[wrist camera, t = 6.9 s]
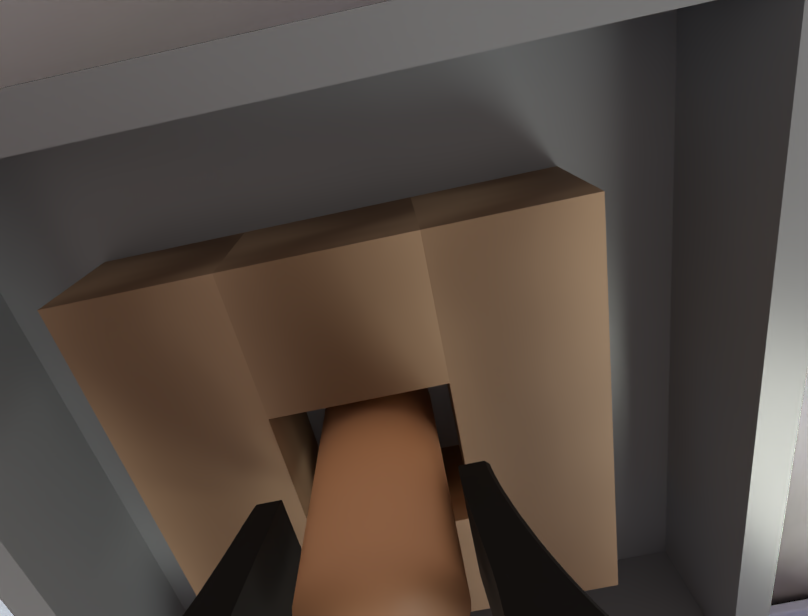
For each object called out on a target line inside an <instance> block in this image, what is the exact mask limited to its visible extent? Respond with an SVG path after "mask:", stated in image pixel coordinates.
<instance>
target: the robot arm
mask: <svg viewBox="0 0 808 616" xmlns="http://www.w3.org/2000/svg"><path fill="white" fill-rule="evenodd" d="M458 469H459V474H460V479H461V484H462V489H463V494H464V499H465V504H466V509H467V514H468V519H469V524H470V528H471V533H472V538H473V543H474V548H475V552H476V557H477V562H478V567H479V572H480V576H481V579H482V583H483V586H484V589H485V593H486V596H487V599H488V603H489V606H490V609H491V612H492V616H609V615H608V614H607V613H606V612H605V611H604V610H603V609H602V608H600V607H599V606H598V605H597V604H596V603H595V602H594V601H593V599H592V598H591V597H590V596H589V595H588V594H587V593H586V592H585V591H584V590H583V589H582V588H581V587H580V586H579V585H578V584H577V583H576V582H575V581H574V580H573V579H572V577H571V576H570V575H569V574H568V573H567V572H566V571H565V570H564V569H563V567H562V566H561V565H560V564H559V563H558V562H557V560H556V559H555V558H554V557H553V556H552V555H551V553H550V552H549V551H548V550H547V549H546V547H545V546H544V545H543V544H542V542H541V541H540V540H539V539H538V537H537V536H536V535H535V534H534V532H533V531H532V530H531V528H530V527H529V526H528V524H527V523H526V522H525V520H524V519H523V518H522V516H521V515H520V514H519V512H518V511H517V509H516V508H515V506H514V505H513V504H512V502H511V500H510V499H509V497H508V496H507V494H506V493H505V491H504V490H503V488H502V486H501V485H500V483H499V481H498V479H497V478H496V476H495V474H494V472H493V470H492V468H491V465H490V464H489V463H488V462H486V461H480V462H475V463H470V464H465V465H459V466H458ZM301 551H302V549H301V546H300V544H299V541H298V539H297V536H296V534H295V531H294V529H293V526H292V524H291V521H290V519H289V516H288V514H287V511H286V509H285V506H284V504H283V501H282V500H278V501H273V502H268V503H263V504H257V505H256V506H255V507H254V509H253V510H252V512H251V513H250V515H249V516H248V518H247V519H246V521H245V522H244V524H243V526H242V527H241V529H240V530H239V532H238V534H237V535H236V537H235V538H234V540H233V541H232V543H231V545H230V546H229V548H228V549H227V551H226V552H225V554H224V556H223V557H222V559H221V560H220V562H219V563H218V565H217V566H216V568H215V569H214V571H213V572H212V574H211V575H210V577H209V578H208V580H207V581H206V583H205V584H204V586H203V587H202V589H201V590H200V592H199V593H198V595H197V596H196V598H195V599H194V601H193V602H192V603H191V605H190V606H189V607H188V609H187V610H186V612H185V613H184V614H183V616H292V605H293V599H294V593H295V587H296V581H297V575H298V569H299V563H300V557H301ZM769 616H808V599H804V600H799V601H793V602H787V603H782V604H776V605H771V608H770V615H769Z"/></svg>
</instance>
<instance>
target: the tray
mask: <svg viewBox="0 0 808 616" xmlns="http://www.w3.org/2000/svg"><path fill="white" fill-rule="evenodd" d="M555 166H558V167H560V168H561V169H563V170H565V171H567V172H569V173H571V174H573V175H575V176H577V177H579V178H580V179H582V180H584V181H586V182H588V183H590V184H592V185H594V186H596V187H598V188H599V189H601V190H603V191H605V219H606V248H607V277H608V305H609V334H610V363H611V391H612V420H613V449H614V477H615V506H616V535H617V563H618V585H615V586H609V587H604V588H598V589H593V590H587V591H585V592H586V593H587V594H588V595H589V596H590V597H591V598H592V599H593V601H594V602H595V603H596V604H597V605H598V606H599V607H600V608H602V609H603V610H604V611H605V612H606V613H607V614H608V615H609V616H769V615H770V608H771V602H772V595H773V589H774V582H775V576H776V570H777V563H778V557H779V550H780V544H781V537H782V531H783V525H784V518H785V512H786V505H787V499H788V492H789V486H790V480H791V473H792V467H793V460H794V454H795V447H796V441H797V435H798V428H799V422H800V415H801V409H802V402H803V396H804V390H805V383H806V377H807V370H808V0H389V1H385V2H381V3H376V4H372V5H367V6H363V7H358V8H354V9H350V10H345V11H341V12H336V13H332V14H327V15H323V16H319V17H314V18H310V19H305V20H301V21H297V22H292V23H288V24H283V25H279V26H274V27H270V28H266V29H261V30H257V31H252V32H248V33H243V34H239V35H235V36H230V37H226V38H221V39H217V40H213V41H208V42H204V43H199V44H195V45H190V46H186V47H182V48H177V49H173V50H168V51H164V52H160V53H155V54H151V55H146V56H142V57H137V58H133V59H129V60H124V61H120V62H115V63H111V64H106V65H102V66H98V67H93V68H89V69H84V70H80V71H76V72H71V73H67V74H62V75H58V76H53V77H49V78H45V79H40V80H36V81H31V82H27V83H22V84H18V85H14V86H9V87H5V88H0V599H1V600H2V601H3V603H4V604H5V605H6V606H7V608H8V609H9V610H10V611H11V613H12V614H13V615H14V616H183V614H184V613H185V612H186V610H187V609H188V607H189V606H190V605H191V603H192V602H193V601H194V599H195V598H196V594H195V592H194V590H193V588H192V587H191V585H190V583H189V581H188V580H187V578H186V576H185V574H184V572H183V571H182V569H181V567H180V565H179V563H178V562H177V560H176V558H175V556H174V554H173V553H172V551H171V549H170V547H169V545H168V544H167V542H166V540H165V538H164V536H163V535H162V533H161V531H160V529H159V528H158V526H157V524H156V522H155V520H154V519H153V517H152V515H151V513H150V511H149V510H148V508H147V506H146V504H145V502H144V501H143V499H142V497H141V495H140V493H139V492H138V490H137V488H136V486H135V484H134V483H133V481H132V479H131V477H130V476H129V474H128V472H127V470H126V468H125V467H124V465H123V463H122V461H121V459H120V458H119V456H118V454H117V452H116V450H115V449H114V447H113V445H112V443H111V441H110V440H109V438H108V436H107V434H106V432H105V431H104V429H103V427H102V425H101V424H100V422H99V420H98V418H97V416H96V415H95V413H94V411H93V409H92V407H91V406H90V404H89V402H88V400H87V398H86V397H85V395H84V393H83V391H82V389H81V388H80V386H79V384H78V382H77V380H76V379H75V377H74V375H73V373H72V372H71V370H70V368H69V366H68V364H67V363H66V361H65V359H64V357H63V355H62V354H61V352H60V350H59V348H58V346H57V345H56V343H55V341H54V339H53V337H52V336H51V334H50V332H49V330H48V328H47V327H46V325H45V323H44V321H43V320H42V318H41V316H40V314H39V312H38V311H37V310H38V309H40V308H41V307H43V306H44V305H45V304H47V303H48V302H50V301H51V300H52V299H54V298H55V297H57V296H58V295H59V294H61V293H62V292H64V291H65V290H66V289H68V288H69V287H71V286H72V285H73V284H75V283H76V282H78V281H79V280H80V279H82V278H83V277H85V276H86V275H87V274H89V273H90V272H92V271H93V270H94V269H96V268H97V267H99V266H100V265H101V264H103V263H104V262H108V261H112V260H117V259H122V258H126V257H131V256H136V255H141V254H145V253H150V252H155V251H159V250H164V249H169V248H174V247H178V246H183V245H188V244H192V243H197V242H202V241H206V240H211V239H216V238H221V237H225V236H230V235H235V234H239V233H244V232H249V231H254V230H258V229H263V228H268V227H272V226H277V225H282V224H287V223H291V222H296V221H301V220H305V219H310V218H315V217H320V216H324V215H329V214H334V213H338V212H343V211H348V210H352V209H357V208H362V207H367V206H371V205H376V204H381V203H385V202H390V201H395V200H400V199H404V198H409V197H414V196H418V195H423V194H428V193H433V192H437V191H442V190H447V189H451V188H456V187H461V186H466V185H470V184H475V183H480V182H484V181H489V180H494V179H498V178H503V177H508V176H513V175H517V174H522V173H527V172H531V171H536V170H541V169H546V168H550V167H555ZM428 391H429V394H430V398H431V403H432V408H433V413H434V418H435V423H436V428H437V433H438V438H439V443H440V448H445V447H450V446H455V445H459V442H458V437H457V432H456V427H455V421H454V416H453V411H452V406H451V401H450V396H449V391H448V386H447V384H444V385H439V386H434V387H429V388H428ZM325 409H326V408H323V409H318V410H313V411H308V412H307V415H308V418H309V421H310V424H311V427H312V430H313V432H314V435H315V438H316V441H317V444H318V447H319V445H320V439H321V433H322V427H323V421H324V415H325ZM470 616H492V612H491V609H490V608H489V609H483V610H478V611H473V612H471V613H470Z"/></svg>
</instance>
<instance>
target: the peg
mask: <svg viewBox="0 0 808 616" xmlns="http://www.w3.org/2000/svg"><path fill="white" fill-rule="evenodd" d="M470 613H471V597H470V592H469V587H468V582H467V577H466V572H465V567H464V562H463V557H462V552H461V547H460V542H459V537H458V532H457V527H456V522H455V517H454V512H453V507H452V502H451V497H450V492H449V487H448V482H447V477H446V473H445V468H444V463H443V458H442V453H441V448H440V443H439V438H438V433H437V428H436V423H435V418H434V413H433V408H432V403H431V398H430V394H429V391H428V388H424V389H419V390H414V391H409V392H404V393H399V394H393V395H388V396H383V397H378V398H373V399H368V400H363V401H358V402H353V403H348V404H343V405H338V406H333V407H328V408H326V409H325V415H324V421H323V427H322V433H321V439H320V445H319V451H318V457H317V462H316V468H315V474H314V480H313V486H312V492H311V498H310V504H309V510H308V516H307V522H306V528H305V534H304V540H303V546H302V551H301V557H300V563H299V569H298V575H297V581H296V587H295V593H294V599H293V605H292V616H470Z"/></svg>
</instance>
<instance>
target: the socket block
mask: <svg viewBox="0 0 808 616" xmlns="http://www.w3.org/2000/svg"><path fill="white" fill-rule="evenodd" d="M37 311H38V312H39V314H40V316H41V318H42V320H43V321H44V323H45V325H46V327H47V328H48V330H49V332H50V334H51V336H52V337H53V339H54V341H55V343H56V345H57V346H58V348H59V350H60V352H61V354H62V355H63V357H64V359H65V361H66V363H67V364H68V366H69V368H70V370H71V372H72V373H73V375H74V377H75V379H76V380H77V382H78V384H79V386H80V388H81V389H82V391H83V393H84V395H85V397H86V398H87V400H88V402H89V404H90V406H91V407H92V409H93V411H94V413H95V415H96V416H97V418H98V420H99V422H100V424H101V425H102V427H103V429H104V431H105V432H106V434H107V436H108V438H109V440H110V441H111V443H112V445H113V447H114V449H115V450H116V452H117V454H118V456H119V458H120V459H121V461H122V463H123V465H124V467H125V468H126V470H127V472H128V474H129V476H130V477H131V479H132V481H133V483H134V484H135V486H136V488H137V490H138V492H139V493H140V495H141V497H142V499H143V501H144V502H145V504H146V506H147V508H148V510H149V511H150V513H151V515H152V517H153V519H154V520H155V522H156V524H157V526H158V528H159V529H160V531H161V533H162V535H163V536H164V538H165V540H166V542H167V544H168V545H169V547H170V549H171V551H172V553H173V554H174V556H175V558H176V560H177V562H178V563H179V565H180V567H181V569H182V571H183V572H184V574H185V576H186V578H187V580H188V581H189V583H190V585H191V587H192V588H193V590H194V592H195V594H196V596H197V595H198V593H199V592H200V590H201V589H202V587H203V586H204V584H205V583H206V581H207V580H208V578H209V577H210V575H211V574H212V572H213V571H214V569H215V568H216V566H217V565H218V563H219V562H220V560H221V559H222V557H223V556H224V554H225V552H226V551H227V549H228V548H229V546H230V545H231V543H232V541H233V540H234V538H235V537H236V535H237V534H238V532H239V530H240V529H241V527H242V526H243V524H244V522H245V521H246V519H247V518H248V516H249V515H250V513H251V512H252V510H253V509H254V507H255V506H256V505H257V504H263V503H268V502H273V501H278V500H282V501H283V504H284V506H285V509H286V511H287V514H288V516H289V519H290V521H291V524H292V526H293V529H294V531H295V534H296V536H297V539H298V541H299V544H300V546H301V549H302V546H303V540H304V534H305V528H306V522H307V516H308V510H309V504H310V498H311V492H312V486H313V480H314V474H315V468H316V462H317V457H318V451H319V447H318V444H317V441H316V438H315V435H314V432H313V430H312V427H311V424H310V421H309V418H308V415H307V412H308V411H313V410H318V409H323V408H328V407H333V406H338V405H343V404H348V403H353V402H358V401H363V400H368V399H373V398H378V397H383V396H388V395H393V394H399V393H404V392H409V391H414V390H419V389H424V388H429V387H434V386H439V385H444V384H447V386H448V391H449V396H450V401H451V406H452V411H453V416H454V421H455V427H456V432H457V437H458V442H459V445H455V446H450V447H445V448H441V453H442V458H443V463H444V468H445V473H446V477H447V482H448V487H449V492H450V497H451V502H452V507H453V512H454V517H455V522H456V527H457V532H458V537H459V542H460V547H461V552H462V557H463V562H464V567H465V572H466V577H467V582H468V587H469V592H470V597H471V612H473V611H478V610H483V609H489V608H490V606H489V603H488V599H487V596H486V593H485V589H484V586H483V583H482V579H481V576H480V572H479V567H478V562H477V557H476V552H475V548H474V543H473V538H472V533H471V528H470V524H469V519H468V514H467V509H466V504H465V499H464V494H463V489H462V484H461V479H460V474H459V469H458V466H459V465H465V464H470V463H475V462H480V461H486V462H488V463H489V464H490V465H491V468H492V470H493V472H494V474H495V476H496V478H497V479H498V481H499V483H500V485H501V486H502V488H503V490H504V491H505V493H506V494H507V496H508V497H509V499H510V500H511V502H512V504H513V505H514V506H515V508H516V509H517V511H518V512H519V514H520V515H521V516H522V518H523V519H524V520H525V522H526V523H527V524H528V526H529V527H530V528H531V530H532V531H533V532H534V534H535V535H536V536H537V537H538V539H539V540H540V541H541V542H542V544H543V545H544V546H545V547H546V549H547V550H548V551H549V552H550V553H551V555H552V556H553V557H554V558H555V559H556V560H557V562H558V563H559V564H560V565H561V566H562V567H563V569H564V570H565V571H566V572H567V573H568V574H569V575H570V576H571V577H572V579H573V580H574V581H575V582H576V583H577V584H578V585H579V586H580V587H581V588H582V589H583V590H584V591H587V590H593V589H598V588H604V587H609V586H615V585H618V563H617V535H616V506H615V477H614V449H613V420H612V391H611V363H610V334H609V305H608V277H607V248H606V219H605V191H603V190H601V189H599V188H598V187H596V186H594V185H592V184H590V183H588V182H586V181H584V180H582V179H580V178H579V177H577V176H575V175H573V174H571V173H569V172H567V171H565V170H563V169H561V168H560V167H558V166H555V167H550V168H546V169H541V170H536V171H531V172H527V173H522V174H517V175H513V176H508V177H503V178H498V179H494V180H489V181H484V182H480V183H475V184H470V185H466V186H461V187H456V188H451V189H447V190H442V191H437V192H433V193H428V194H423V195H418V196H414V197H409V198H404V199H400V200H395V201H390V202H385V203H381V204H376V205H371V206H367V207H362V208H357V209H352V210H348V211H343V212H338V213H334V214H329V215H324V216H320V217H315V218H310V219H305V220H301V221H296V222H291V223H287V224H282V225H277V226H272V227H268V228H263V229H258V230H254V231H249V232H244V233H239V234H235V235H230V236H225V237H221V238H216V239H211V240H206V241H202V242H197V243H192V244H188V245H183V246H178V247H174V248H169V249H164V250H159V251H155V252H150V253H145V254H141V255H136V256H131V257H126V258H122V259H117V260H112V261H108V262H104V263H103V264H101V265H100V266H99V267H97V268H96V269H94V270H93V271H92V272H90V273H89V274H87V275H86V276H85V277H83V278H82V279H80V280H79V281H78V282H76V283H75V284H73V285H72V286H71V287H69V288H68V289H66V290H65V291H64V292H62V293H61V294H59V295H58V296H57V297H55V298H54V299H52V300H51V301H50V302H48V303H47V304H45V305H44V306H43V307H41V308H40V309H38V310H37Z"/></svg>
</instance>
